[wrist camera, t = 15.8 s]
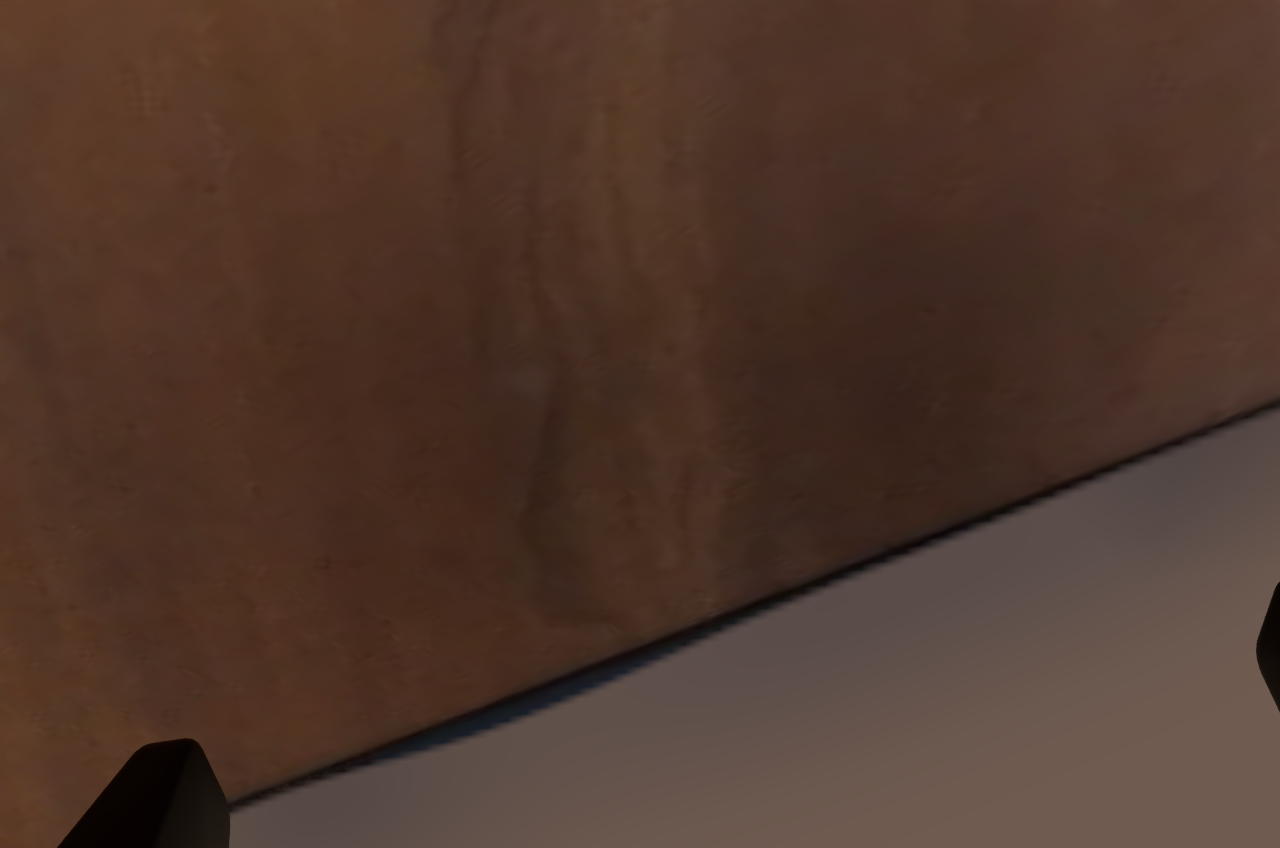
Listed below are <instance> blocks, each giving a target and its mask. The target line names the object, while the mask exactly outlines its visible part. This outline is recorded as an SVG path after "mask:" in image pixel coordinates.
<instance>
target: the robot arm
mask: <svg viewBox="0 0 1280 848" xmlns="http://www.w3.org/2000/svg"><path fill="white" fill-rule="evenodd" d="M1256 654H1257V661H1258V664H1259V668H1260V671H1261V673H1262V676H1263V678H1264V680H1265V682H1266V684H1267V686H1268V688H1269V690H1270V692H1271V695H1272V697H1273V699H1274V701H1275V703H1276V705H1277V707H1278V709H1279V711H1280V582H1279V583H1278V584H1277V586H1276V588H1275V591H1274V593H1273V596H1272V599H1271V602H1270V605H1269V608H1268V611H1267V614H1266V616H1265V620H1264V622H1263V625H1262V628H1261V631H1260V634H1259V637H1258V640H1257V647H1256ZM229 837H230V815H229V808H228V804H227V800H226V798H225V795H224V793H223V791H222V789H221V787H220V785H219V783H218V780H217V778H216V776H215V774H214V772H213V770H212V768H211V766H210V764H209V762H208V759H207V757H206V755H205V753H204V751H203V749H202V748H201V746H200V745H199V743H198V742H196V741H195V740H193V739H188V738H184V739H177V740H170V741H163V742H156V743H151V744H147V745H145V746H143V747H141V748H140V749H138V750H137V751H136V752H135V753H134V754H133V755H132V756H131V757H130V759H129V760H128V761H127V762H126V764H125V765H124V766H123V767H122V769H121V770H120V771H119V772H118V773H117V775H116V776H115V777H114V778H113V780H112V781H111V782H110V783H109V784H108V786H107V787H106V788H105V789H104V791H103V792H102V793H101V794H100V796H99V797H98V798H97V799H96V800H95V802H94V803H93V804H92V805H91V807H90V808H89V809H88V810H87V811H86V813H85V814H84V815H83V816H82V818H81V819H80V820H79V821H78V823H77V824H76V825H75V826H74V827H73V829H72V830H71V831H70V832H69V834H68V835H67V836H66V837H65V838H64V840H63V841H62V842H61V843H60V845H59V846H58V847H57V848H229Z"/></svg>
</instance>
